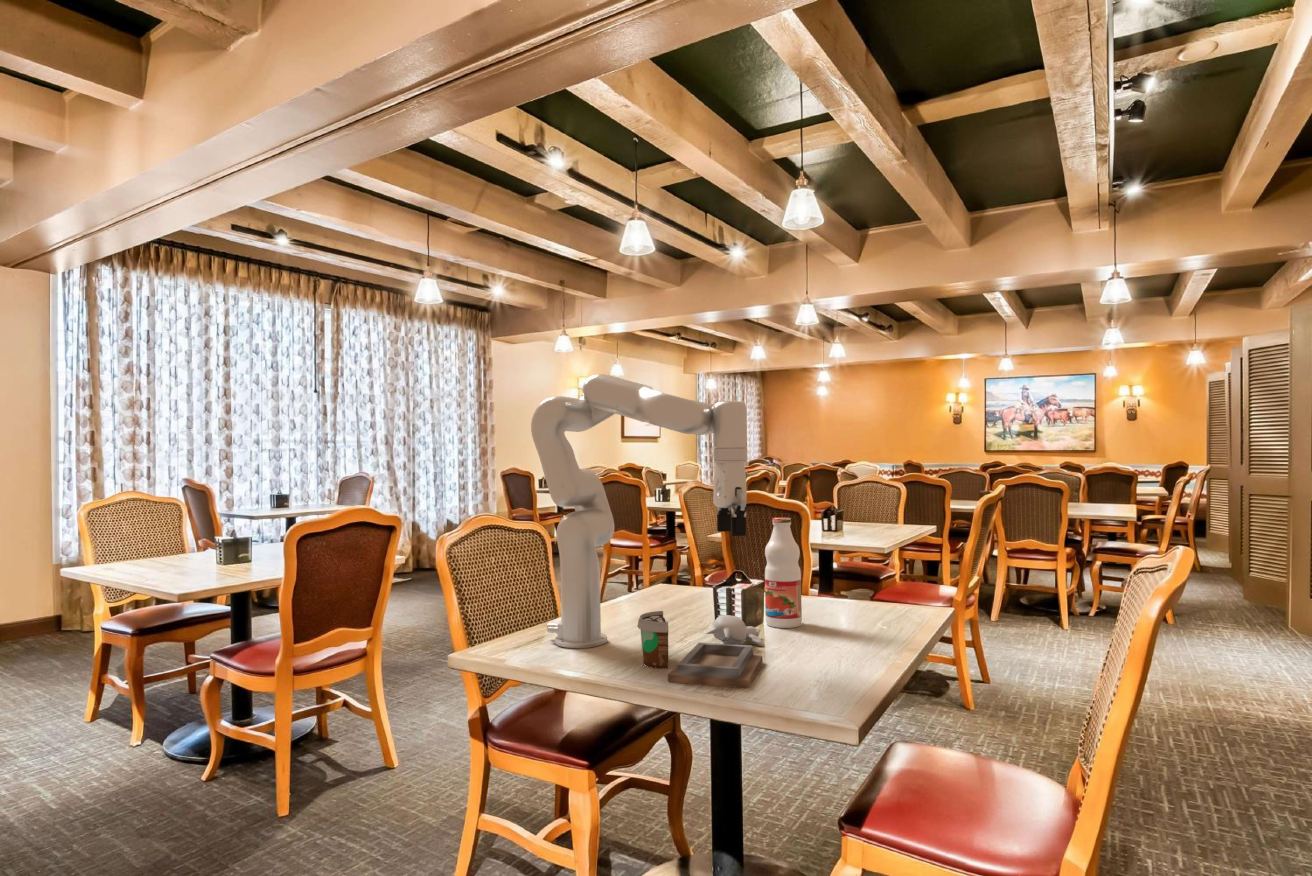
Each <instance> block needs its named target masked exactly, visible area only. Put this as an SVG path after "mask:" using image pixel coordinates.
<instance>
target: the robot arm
mask: <svg viewBox="0 0 1312 876" xmlns="http://www.w3.org/2000/svg"><path fill="white" fill-rule="evenodd" d="M581 391H582V396H581V397H579V398H575V397H570V396H562V395H558V396H551V397H548V398H546V399H544V400H543V401H541V402H540V403H539V404H538V405H537V407H536V408H535V410H534V413H533V415H532V417H531V422H530V431H531V432H530V433H531V437H532V440H533V443H534V446H535V448H536V452H537V454H538V458H539V461H540V463H541V464H540V465H541V468H542V472H543V475H544V478H545V482H546V485H547V488H548V492H549V495H550V498H551V500H552V502H553V503H554V504H555V505H556V506H558V507H560V508H574V511H572V512H570V513H567V514H566V515H564V517H562V518H561V519H560V521H559V523H558V524H557V528H556V542H557V547H558V554H559V563H560V565H559V567H560V617H561V619H560V622H559V623H555V622H553V623H552V622H548V623H547V625H546V631H547V633H549V634H550V633H552V634H553V633H554V634H556V635H557V636H556V637H555V638H554V643H555V645H557V646H558V647H562V648H568V649H587V648H594V647H599V646H602V645H604V644H606V643H607V642H608V636H607V634H605V633H603V632H602V630H601V628H602V627H601V625H602V624H601V621H602V620H601V568H600V560H599V556H598V553H597V549H596V548H597V547H602V546H604V545H606V544H608V543H609V542H610V541H611V539H612V538H613V537H614V534H615V533H614V532H615V522H614V521H615V520H614V516H613V513H612V510H611V508H610V504H609V501H608V497H607V495H606V494H607V493H606V490H605V488H604V485H603V483H602V480H601V479H600V477H599V476H598V475H597V474H596V473H595V472H594V471H593V470H590V469H588V468H580V467H579V464H578V461H577V459H576V455H575V452H574V449H573V447H572V445H571V443H570V441H569V440H568V438H567V436H566V434H565V432H573V433H581V432H586V431H588V430H590V429H592V428H594V427H596V426H597V425H599V424H600V423H603V422H604V421H606V420H607V419H609V418H611V417H613V416H614V415H619V416H623V417H625V418H629V419H632V420H636V421H639V422H642V423H647V424H650V425H653V426H656V427H660V428H664V429H666V430H670V431H674V432H678V433H680V434H684V435H686V434H687V435H696V436H697V435H698V436H706V435H713V445H712V446H713V464H714V474H713V487H712V488H713V491H712V493H713V494H712V496H713V497H712V503H713V505H714V506H715V507H716V530H717V532H723V533H724V532H730V535H731V536H732V537H742V536H743V537H745V536H746V535H747V519H746V518H747V500H748V498H747V495H748V493H747V476H746V474H747V473H746V465H745V464H748V412H747V411H748V410H747V405H746V403H744V402H743V401H738V400H724V401H718V402H716V403H709V402H702V401H699V400H693V399H688V398H683V397H680V396H678V395H672V394H668V393H665V392H661V391H658V390H656V389H654V388H653V387H652V386H650V385H647V384H643V383H638V382H637V381H636V382H635V381H631V380H627V379H624V378H621V377H617V376H613V375H611V374H610V375H609V374H606V373H605V374H604V373H598V374H593V375H591V376H589V377H588V378H587V379H586V380H585V382H583V385H582V390H581ZM730 511H731V512H730Z"/></svg>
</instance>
